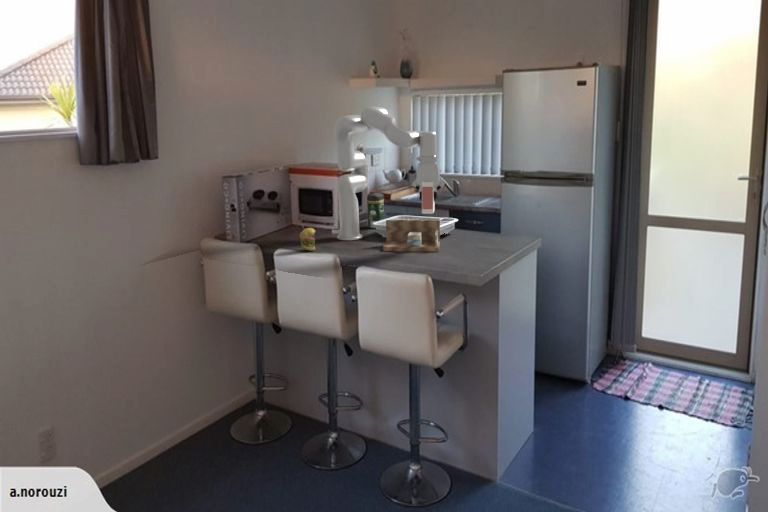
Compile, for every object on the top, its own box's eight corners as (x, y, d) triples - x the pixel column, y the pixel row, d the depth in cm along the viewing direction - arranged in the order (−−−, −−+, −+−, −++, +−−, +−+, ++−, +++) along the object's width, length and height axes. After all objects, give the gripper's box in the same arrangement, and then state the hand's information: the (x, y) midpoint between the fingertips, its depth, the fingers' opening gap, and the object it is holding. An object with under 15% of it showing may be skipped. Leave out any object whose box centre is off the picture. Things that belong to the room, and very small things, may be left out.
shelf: (383, 251, 294) (382, 225, 291) (386, 244, 306) (386, 219, 304) (438, 251, 290) (438, 225, 288) (439, 245, 303) (439, 220, 300)
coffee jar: (373, 225, 354) (373, 191, 350) (386, 226, 351) (386, 192, 346) (365, 228, 346) (364, 193, 342) (378, 229, 342) (377, 194, 338)
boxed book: (422, 213, 289) (421, 182, 285) (423, 210, 297) (423, 179, 294) (433, 213, 288) (433, 182, 285) (434, 210, 297) (434, 179, 293)
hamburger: (316, 252, 294) (314, 226, 292) (300, 253, 294) (298, 227, 291) (316, 248, 302) (315, 223, 299) (300, 249, 301) (299, 223, 298)
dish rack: (398, 227, 348) (398, 212, 346) (462, 233, 330) (462, 217, 328) (368, 238, 322) (367, 222, 320) (434, 245, 304) (434, 228, 302)
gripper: (408, 160, 285) (408, 201, 289) (447, 160, 282) (446, 201, 287) (409, 159, 292) (410, 199, 296) (447, 158, 290) (447, 199, 294)
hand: (428, 200), depth 292 cm, fingers closed on boxed book, 5 cm apart
